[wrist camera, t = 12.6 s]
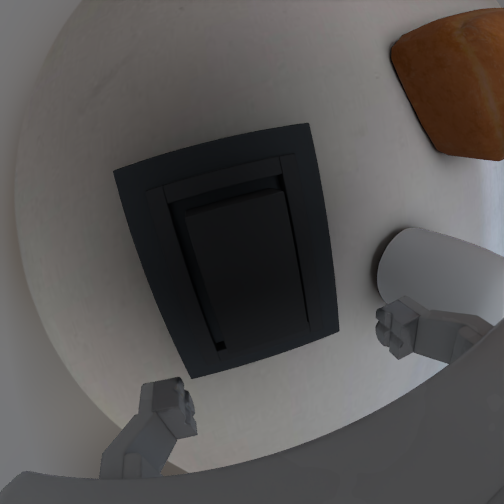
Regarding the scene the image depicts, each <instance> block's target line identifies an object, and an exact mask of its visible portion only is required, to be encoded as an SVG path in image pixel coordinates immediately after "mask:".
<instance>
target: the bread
mask: <svg viewBox="0 0 504 504" xmlns="http://www.w3.org/2000/svg"><path fill="white" fill-rule="evenodd" d="M391 59H392V62H393V64H394V66H395V69H396V71H397V74H398V76H399V78H400V81H401V83H402V85H403V87H404V89H405V92H406V94H407V96H408V98H409V100H410V102H411V104H412V105H413V107H414V109H415V111H416V113H417V115H418V118H419V120H420V122H421V124H422V126H423V128H424V129H425V131H426V132H427V134H428V136H429V137H430V139H431V141H432V142H433V144H434V146H435V147H436V149H437V150H438V151H440V152H442V153H445V154H447V155H452V156H460V157H468V158H476V159H483V160H492V161H501V160H503V159H504V8H488V9H479V10H474V11H469V12H465V13H461V14H457V15H453V16H449V17H445V18H442V19H438V20H436V21H433V22H431V23H428V24H426V25H424V26H421V27H419V28H417V29H415V30H413V31H411V32H409V33H406V34H404V35H402V36H401V38H400V39H399V40H398V41H397V42H396V43H395V45H394V46H393V47H392V50H391Z"/></svg>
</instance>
